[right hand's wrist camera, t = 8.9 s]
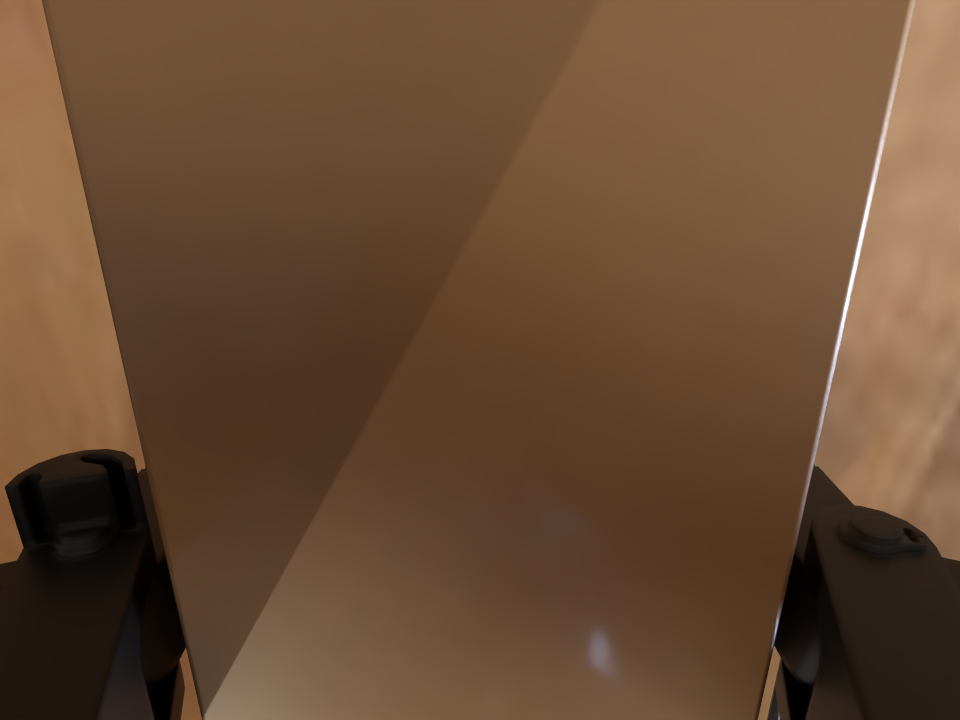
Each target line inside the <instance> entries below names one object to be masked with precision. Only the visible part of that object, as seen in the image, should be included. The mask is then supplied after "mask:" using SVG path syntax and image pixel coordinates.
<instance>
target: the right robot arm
mask: <svg viewBox="0 0 960 720" xmlns="http://www.w3.org/2000/svg"><path fill="white" fill-rule="evenodd" d="M5 490H6V493H7V496H8V500H9V503H10V506H11V509H12V512H13V515H14V519H15V522H16V525H17V528H18V531H19V534H20V538H21V541H22V544H23V547H24V549H23V550H22V552H21V554H20V556H19V558H18V560H17V561H13V562H9V563H4V564H0V720H181V713H182V705H183V698H184V690H185V686H184V679H183V673H182V669H181V664H180V660H179V659H180V657H181V655H182V654H183V652H184V650H185V648H186V644H185V640H184V635H183V631H182V626H181V622H180V617H179V613H178V608H177V604H176V599H175V595H174V591H173V586H172V582H171V577H170V573H169V568H168V564H167V559H166V555H165V550H164V546H163V541H162V537H161V532H160V528H159V523H158V519H157V514H156V510H155V505H154V501H153V496H152V492H151V487H150V483H149V478H148V474H147V469H146V465H145V469H141V471H140V472H139V473H138V474H137V469H136V465H135V460H134V458H132V457H131V456H129V455H128V454H126V453H125V452H121V451H116V450H110V449H99V450H84V451H79V452H74V453H69V454H65V455H60V456H58V457H55V458H52V459H49V460H46V461H44V462H41V463H38V464H36V465H34V466H32V467H31V468H29V469H27V470H25V471H23V472H22V473H20V474H18V475H17V476H16V477H15V478H14V479H13V480H11V481H10V482H9V483H8V484H7V485H6V486H5ZM774 646H775V647H776V649H777V651H778V653H779V655H780V657H781V660H780V664H779V669H778V673H777V678H776V682H775V686H774V691H773V695H772V700H771V704H770V709H769V713H768V718H767V720H778V719H780V720H960V561H956V560H951V559H947V558H943V557H941V555H940V553H939V551H938V549H937V547H936V546H935V545H934V544H933V543H932V541H931V540H930V539H929V538H928V537H927V536H926V534H925V533H923V532H922V531H920V530H919V529H917V528H916V527H914V526H913V525H911V524H910V523H908V522H906V521H904V520H902V519H900V518H897V517H895V516H893V515H890V514H888V513H885V512H883V511H879V510H875V509H870V508H866V507H862V506H854V505H853V504H852V503H851V501H850V500H849V499H848V498H847V497H846V496H845V495H844V494H843V493H842V492H841V491H840V490H839V489H838V487H837V486H836V485H835V484H834V483H833V482H832V481H831V480H830V479H829V478H828V477H827V476H826V475H825V474H824V472H823V471H822V470H821V469H820V468H819V467H815V463H814V465H813V470H812V474H811V479H810V483H809V488H808V492H807V497H806V502H805V506H804V511H803V515H802V520H801V524H800V529H799V533H798V538H797V543H796V547H795V552H794V556H793V561H792V565H791V570H790V574H789V579H788V583H787V588H786V593H785V597H784V602H783V606H782V611H781V615H780V620H779V624H778V629H777V634H776V638H775V643H774Z"/></svg>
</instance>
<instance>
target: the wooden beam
mask: <svg viewBox="0 0 960 720" xmlns="http://www.w3.org/2000/svg"><path fill="white" fill-rule="evenodd" d="M915 1H916V0H42V3H43V7H44V12H45V16H46V21H47V25H48V30H49V34H50V39H51V43H52V48H53V52H54V57H55V61H56V66H57V70H58V75H59V79H60V84H61V88H62V93H63V97H64V102H65V106H66V111H67V115H68V120H69V124H70V128H71V133H72V137H73V142H74V146H75V151H76V155H77V160H78V164H79V169H80V173H81V178H82V182H83V187H84V191H85V196H86V200H87V205H88V209H89V214H90V218H91V223H92V227H93V232H94V236H95V241H96V245H97V250H98V254H99V259H100V263H101V268H102V272H103V277H104V281H105V285H106V290H107V294H108V299H109V303H110V308H111V312H112V317H113V321H114V326H115V330H116V335H117V339H118V344H119V348H120V353H121V357H122V362H123V366H124V371H125V375H126V380H127V384H128V389H129V393H130V398H131V402H132V407H133V411H134V416H135V420H136V425H137V429H138V434H139V438H140V442H141V447H142V451H143V456H144V460H145V465H146V469H147V474H148V478H149V483H150V487H151V492H152V496H153V501H154V505H155V510H156V514H157V519H158V523H159V528H160V532H161V537H162V541H163V546H164V550H165V555H166V559H167V564H168V568H169V573H170V577H171V582H172V586H173V591H174V595H175V599H176V604H177V608H178V613H179V617H180V622H181V626H182V631H183V635H184V640H185V644H186V649H187V653H188V658H189V662H190V667H191V671H192V676H193V680H194V685H195V689H196V694H197V698H198V703H199V707H200V712H201V716H202V720H758V715H759V711H760V706H761V702H762V697H763V693H764V688H765V684H766V679H767V674H768V670H769V665H770V661H771V656H772V652H773V647H774V643H775V638H776V634H777V629H778V624H779V620H780V615H781V611H782V606H783V602H784V597H785V593H786V588H787V583H788V579H789V574H790V570H791V565H792V561H793V556H794V552H795V547H796V543H797V538H798V533H799V529H800V524H801V520H802V515H803V511H804V506H805V502H806V497H807V492H808V488H809V483H810V479H811V474H812V470H813V465H814V461H815V456H816V452H817V447H818V442H819V438H820V433H821V429H822V424H823V420H824V415H825V411H826V406H827V402H828V397H829V392H830V388H831V383H832V379H833V374H834V370H835V365H836V361H837V356H838V351H839V347H840V342H841V338H842V333H843V329H844V324H845V320H846V315H847V311H848V306H849V301H850V297H851V292H852V288H853V283H854V279H855V274H856V270H857V265H858V260H859V256H860V251H861V247H862V242H863V238H864V233H865V229H866V224H867V220H868V215H869V210H870V206H871V201H872V197H873V192H874V188H875V183H876V179H877V174H878V170H879V165H880V160H881V156H882V151H883V147H884V142H885V138H886V133H887V129H888V124H889V119H890V115H891V110H892V106H893V101H894V97H895V92H896V88H897V83H898V79H899V74H900V69H901V65H902V60H903V56H904V51H905V47H906V42H907V38H908V33H909V28H910V24H911V19H912V15H913V10H914V6H915Z"/></svg>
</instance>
